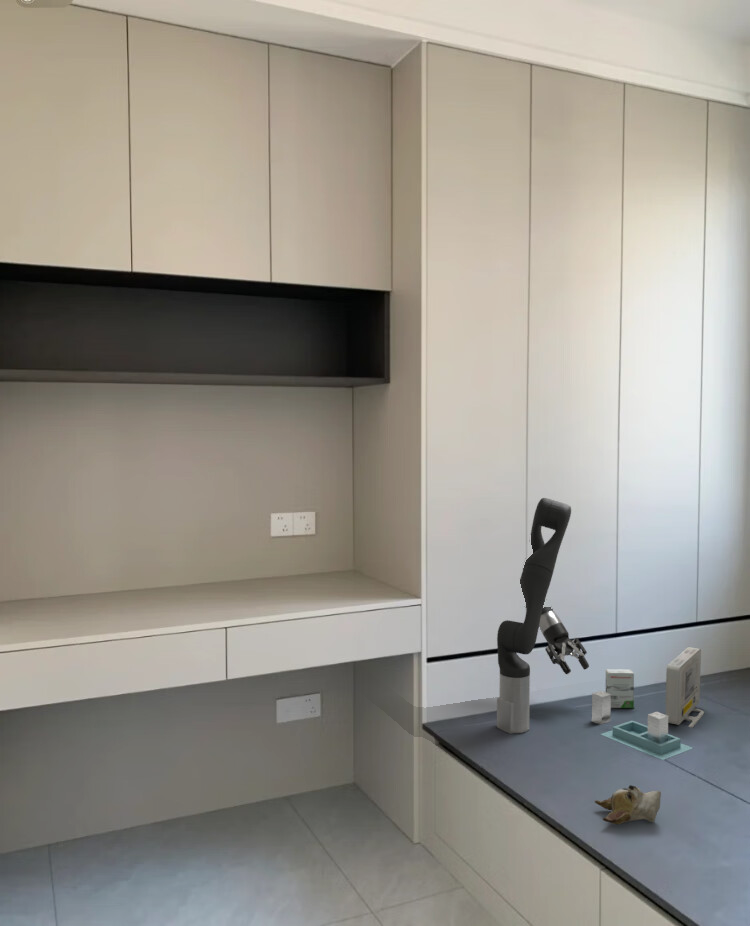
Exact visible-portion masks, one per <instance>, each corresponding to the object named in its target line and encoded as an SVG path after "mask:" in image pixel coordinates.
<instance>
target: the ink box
mask: <svg viewBox="0 0 750 926" xmlns="http://www.w3.org/2000/svg"><path fill="white" fill-rule="evenodd" d="M634 680H635V674H634V672H633V671H632V669H628V668H627V669H626V668H625V669H617V668H615V669H614V668H612V669H611V668H610V669H609V668H606V669H605V693H608V694H611V709H634V708H635V704H634V702H635V698H634V697H635V691H634V689H635V688H634V687H635V681H634Z"/></svg>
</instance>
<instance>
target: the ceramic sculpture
mask: <svg viewBox="0 0 750 926" xmlns="http://www.w3.org/2000/svg"><path fill="white" fill-rule="evenodd" d="M661 794H662V792H661V790H656V791H655V790H654V791H653V790H652V791H648V792H642V790H641V789H640V788H639V787H637V786H636V785H632V784H630V785H628V788H625V787H624V788H618V789H617V790H615V791H614V792H613V793H612V795H611V796H610V797H608V798H607V799H604V800H597V799H596V800H594V803H595V804H596V805H598V806H600V807H602V808H604V809H606V810H608V811H611V812H609V813H608V814H607V816H605V817H603V818H602V821H604V822H607V823H610V824H615V825H621V824H623V823H627V822H634V821H639V820H646V821H648V822H650V823H654V822H655V820H656V817H657V815H658V812H659V811H660V808H661V797H662V795H661Z"/></svg>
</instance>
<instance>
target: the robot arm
mask: <svg viewBox="0 0 750 926" xmlns="http://www.w3.org/2000/svg"><path fill="white" fill-rule="evenodd" d="M534 511H535V512H534V515H533V520H532V524H531V530H530V535H531V545H532V549H533V554H532V555H531V556H530V557H529V558H528V559H527V560H526V562H525V561H524V562H525V565H524V564H523V565H524V568H523V567H522V573H521V575H520V578H519V579H520V584H521V588H522V592H523V595H524V598H525V602H526V607H525V611H526V612H525V617H524V620H523V622H519V621H515V620H508V619H507V620H503V621H502V622H501V623H500V624H499V626H498V630H497V634H496V635H497V637H496V642H497V643H496V644H497V645H496V646H497V664H498V668H499V697H496V728H497V729H499V730H501V731H503V732H505V733H508V734H510V735H511V734H523V733H527V732H528V731H530V710H531V709H530V706H531V705H530V699H531V698H530V695H531V694H530V693H531V692H530V691H531V684H530V683H531V667H530V666H531V665H530V664H529V663H528V662H526V661H525V660H523V659H522V657H520V656H519V655H518V654H522V655H529V654H531V652H532V651H533V650H534V648H535V645H536V641H537V638H538V633H539V630H541V631H540V632H541V634H542V636H543V637H544V639H545V641H546V643H547V644H548V645H547V646H546V647H545V648H544V649H545V652H546V653H547V655H548V657H549V659H550V661H551V662H552V664H553V665H555V664H557V665H558V666H560V668H561V670H562V672H563V673H564V674H565V675H569V674H570V673H571V671H572V670H571V668H570V666H569V665H568V663H567V661H566V660H565V657H566V656H571V657H574V658H576V659H577V660H578V662H579V664H580V666H581V667H582V669H583V670H587V669H588V668H589V667H590V664H589V662H588V660H586V658H585V656H586V655H587V654H588V652H587V650H586V648H585V646H583V644H582V643H581V641H580V639H579V638H578V637H575V638H574V639H573V640H572V639H570V638H569V636H570V635H569V632H568V630H567V628H566V627H565V625H564V623H563V622H562V620H561V619H560V617H559V616H558V615H557V613H556V612H555V611H553V610H554V609H553V608H552V609H551V607H552V606H551V607H544V608H543V605H544V602H545V599H546V597H547V594H548V591H549V588H550V585H551V581H552V579H553V578H552V577H553V574H554V572H555V566H556V564H557V558H558V555H559V552H560V550H561V545H562V543H563V539H564V537H565V534H566V532H567V528H568V525H569V522H570V519H571V514H572V507H571V505H569V504H567V503H564V502H560V501H558V500H554V499H551V498H547V497H542V498H541V499H539V501H538V503H537V505H536V508H535V510H534ZM542 527H544V528H547V529H550V530H552V531H554V533H553V534H552V536H551V537H550V538H549V539H548V540H547V542H546V543H545V541H544V538H543V534H542ZM539 627H540V629H539Z"/></svg>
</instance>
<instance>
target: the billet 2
mask: <svg viewBox="0 0 750 926" xmlns="http://www.w3.org/2000/svg"><path fill="white" fill-rule="evenodd" d="M647 726H648V731H647V739H649V740H651V741H654V742H656V743H659V744H662V743H664V742H667V741H668V734H669V723H668V716H667V715H666V714H664V713H661V712H659V711H654V712H651V713H648V714H647Z"/></svg>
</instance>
